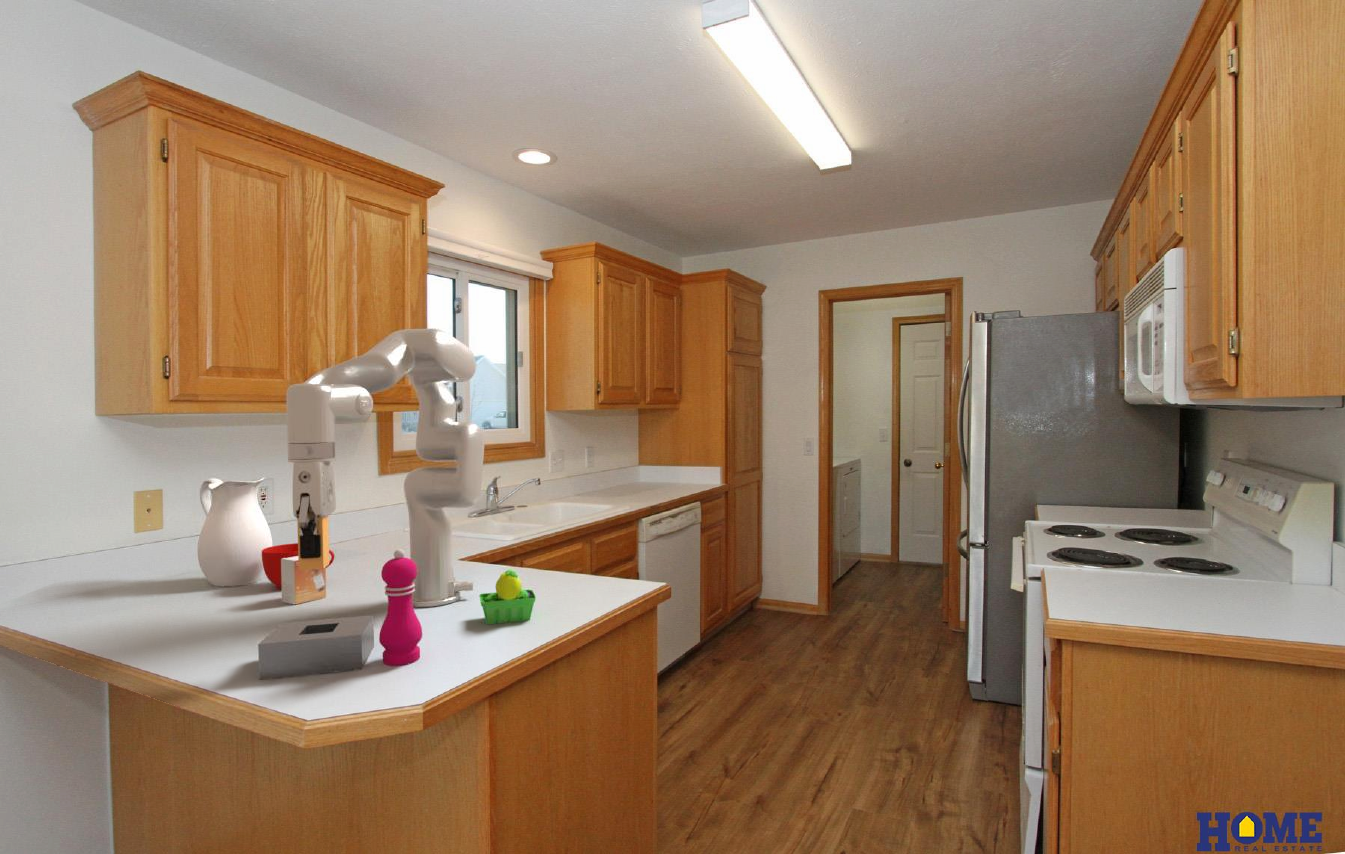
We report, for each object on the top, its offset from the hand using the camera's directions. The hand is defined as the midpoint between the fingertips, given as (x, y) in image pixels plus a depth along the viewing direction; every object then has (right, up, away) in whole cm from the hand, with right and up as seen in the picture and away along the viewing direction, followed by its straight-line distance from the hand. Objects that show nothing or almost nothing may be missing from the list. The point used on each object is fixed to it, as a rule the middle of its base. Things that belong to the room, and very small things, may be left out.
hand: (314, 554), depth 123 cm
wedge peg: (0, -2, 0) cm, 2 cm away
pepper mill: (+15, -19, +1) cm, 25 cm away
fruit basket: (+29, -19, +24) cm, 42 cm away
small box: (-24, -19, +42) cm, 52 cm away
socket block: (+1, -19, 0) cm, 19 cm away
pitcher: (-56, -19, +63) cm, 86 cm away
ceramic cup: (-33, -19, +56) cm, 68 cm away
